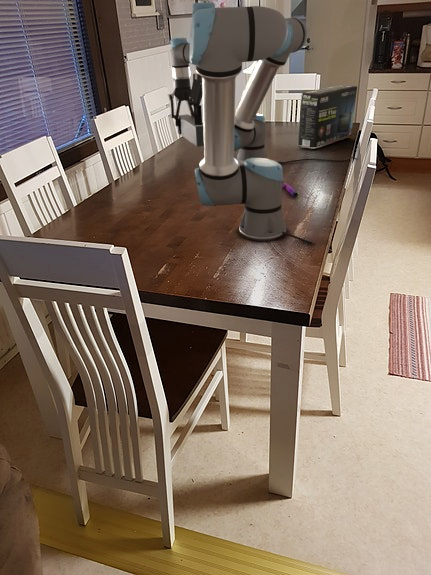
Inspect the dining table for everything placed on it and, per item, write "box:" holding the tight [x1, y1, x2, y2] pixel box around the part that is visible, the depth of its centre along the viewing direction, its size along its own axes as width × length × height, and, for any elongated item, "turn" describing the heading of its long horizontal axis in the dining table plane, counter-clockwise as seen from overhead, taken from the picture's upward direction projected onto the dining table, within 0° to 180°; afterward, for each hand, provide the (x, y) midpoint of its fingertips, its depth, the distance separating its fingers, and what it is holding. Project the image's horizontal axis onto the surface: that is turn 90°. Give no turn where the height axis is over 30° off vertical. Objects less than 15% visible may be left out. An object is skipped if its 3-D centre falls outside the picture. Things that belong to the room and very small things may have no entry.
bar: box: [178, 113, 204, 148], centre depth 201 cm, size 29×5×8 cm, turn 19°
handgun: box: [282, 179, 299, 198], centre depth 183 cm, size 21×8×2 cm, turn 11°
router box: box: [297, 84, 358, 151], centre depth 238 cm, size 36×11×27 cm, turn 134°
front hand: (208, 121), depth 166 cm, fingers open, 13 cm apart
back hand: (185, 132), depth 212 cm, fingers closed on bar, 5 cm apart
